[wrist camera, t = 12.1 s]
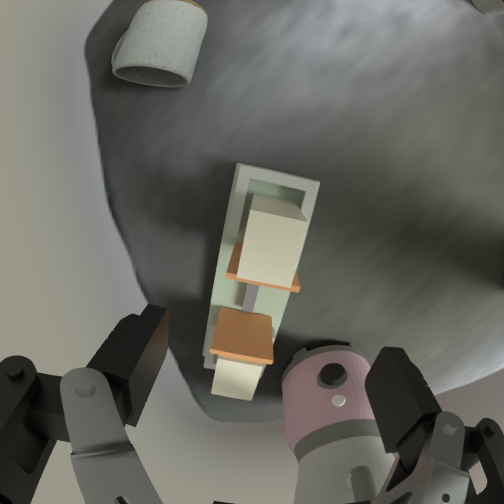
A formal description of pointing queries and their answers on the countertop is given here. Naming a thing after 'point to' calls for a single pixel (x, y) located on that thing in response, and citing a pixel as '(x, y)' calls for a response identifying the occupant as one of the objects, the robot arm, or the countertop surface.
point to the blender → (333, 427)
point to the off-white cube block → (270, 245)
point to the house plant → (489, 6)
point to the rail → (248, 288)
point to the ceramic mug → (161, 44)
